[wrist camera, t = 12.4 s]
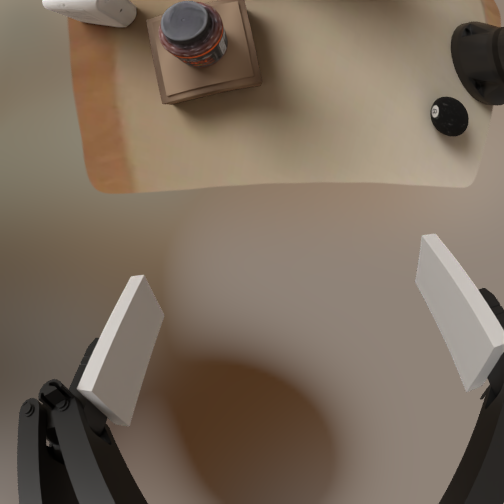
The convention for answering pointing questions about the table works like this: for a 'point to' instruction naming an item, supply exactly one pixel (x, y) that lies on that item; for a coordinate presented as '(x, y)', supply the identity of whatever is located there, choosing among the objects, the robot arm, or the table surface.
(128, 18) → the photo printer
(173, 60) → the wooden box
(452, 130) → the billiard ball
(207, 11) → the supplement bottle
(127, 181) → the table surface
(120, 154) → the table surface
